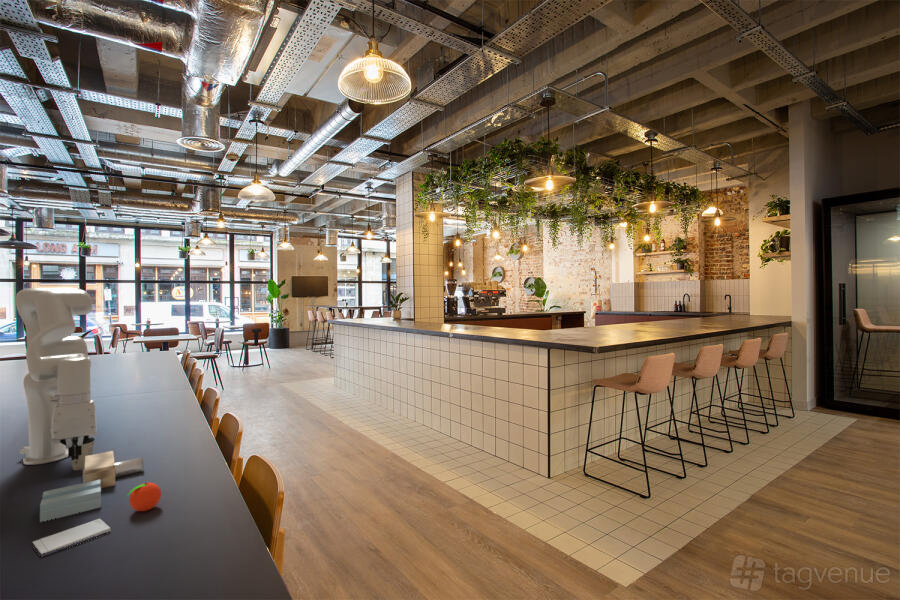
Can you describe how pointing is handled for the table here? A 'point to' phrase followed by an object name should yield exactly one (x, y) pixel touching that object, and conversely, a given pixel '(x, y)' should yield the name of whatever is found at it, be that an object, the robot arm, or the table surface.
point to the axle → (126, 467)
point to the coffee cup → (86, 450)
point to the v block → (70, 500)
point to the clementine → (144, 496)
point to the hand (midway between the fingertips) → (75, 458)
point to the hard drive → (71, 536)
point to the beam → (100, 468)
